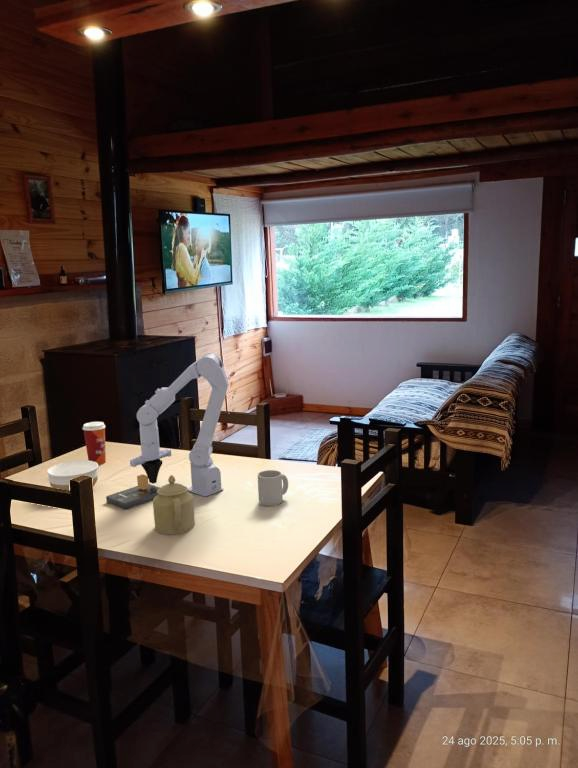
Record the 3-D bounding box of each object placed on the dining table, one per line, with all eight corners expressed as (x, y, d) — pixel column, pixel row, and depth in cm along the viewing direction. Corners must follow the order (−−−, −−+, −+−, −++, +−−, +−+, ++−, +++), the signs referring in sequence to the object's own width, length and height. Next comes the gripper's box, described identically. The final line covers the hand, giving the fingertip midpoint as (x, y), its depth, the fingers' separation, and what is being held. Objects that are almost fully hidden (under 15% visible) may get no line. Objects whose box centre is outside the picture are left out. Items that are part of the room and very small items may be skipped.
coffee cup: (105, 465, 234) (101, 426, 231) (82, 466, 234) (78, 427, 231) (111, 459, 242) (108, 420, 239) (90, 459, 242) (86, 421, 240)
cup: (254, 501, 194) (253, 473, 192) (282, 494, 199) (281, 466, 198) (266, 508, 188) (265, 479, 186) (294, 500, 193) (293, 472, 192)
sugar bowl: (211, 529, 174) (208, 477, 172) (178, 542, 167) (174, 488, 164) (180, 515, 185) (176, 466, 182) (147, 527, 177) (143, 476, 175)
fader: (148, 488, 202) (147, 476, 201) (143, 490, 201) (142, 477, 200) (143, 486, 204) (142, 474, 203) (138, 488, 203) (136, 475, 202)
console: (165, 495, 202) (165, 489, 201) (125, 509, 191) (124, 503, 190) (146, 488, 208) (146, 482, 208) (106, 502, 197) (106, 496, 197)
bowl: (80, 479, 220) (78, 457, 218) (110, 487, 211) (108, 464, 209) (39, 493, 207) (36, 470, 206) (69, 503, 198) (66, 478, 197)
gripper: (160, 434, 210) (163, 474, 213) (123, 445, 200) (126, 486, 202) (174, 438, 206) (176, 478, 208) (136, 448, 195) (139, 490, 198)
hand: (153, 482), depth 205 cm, fingers closed
